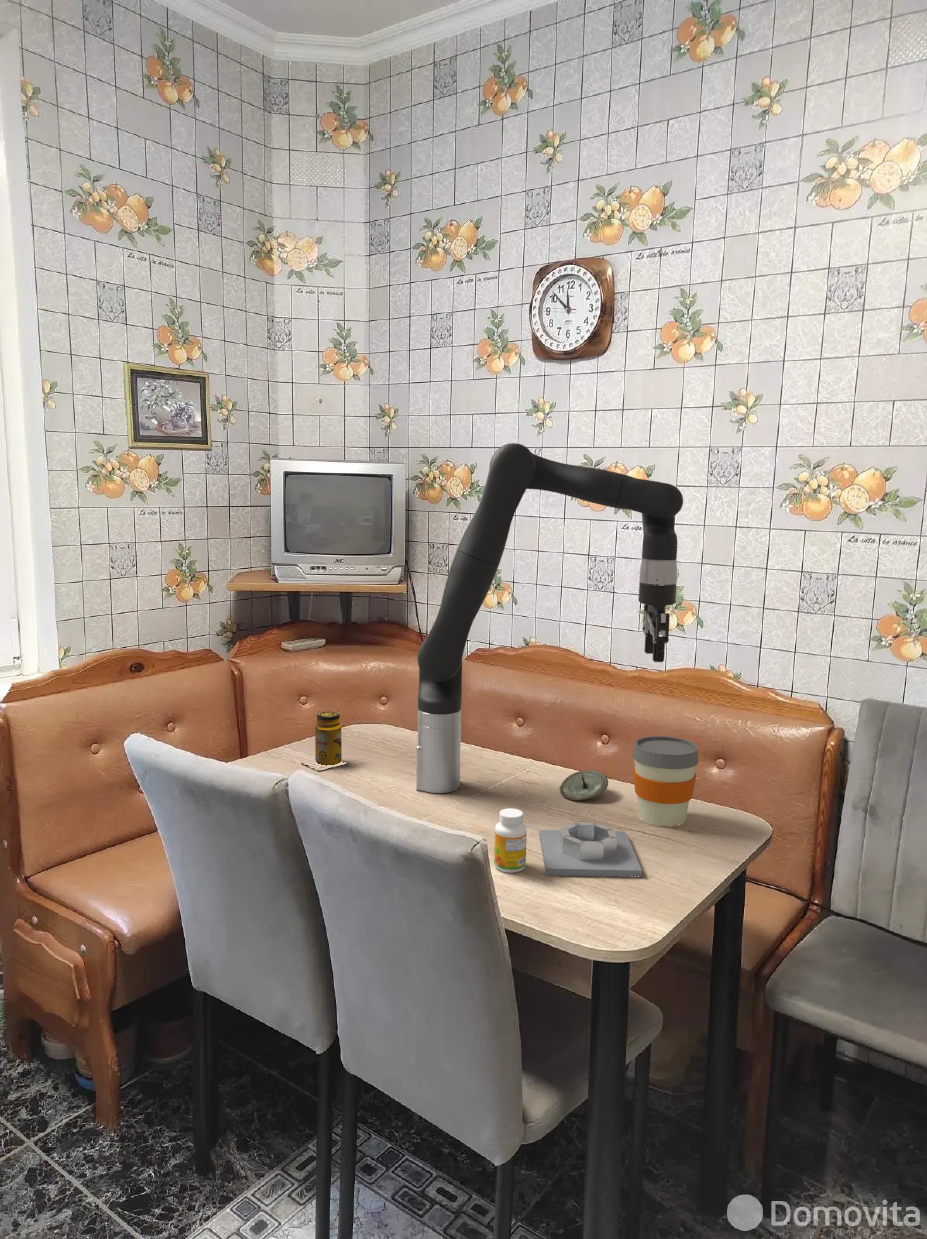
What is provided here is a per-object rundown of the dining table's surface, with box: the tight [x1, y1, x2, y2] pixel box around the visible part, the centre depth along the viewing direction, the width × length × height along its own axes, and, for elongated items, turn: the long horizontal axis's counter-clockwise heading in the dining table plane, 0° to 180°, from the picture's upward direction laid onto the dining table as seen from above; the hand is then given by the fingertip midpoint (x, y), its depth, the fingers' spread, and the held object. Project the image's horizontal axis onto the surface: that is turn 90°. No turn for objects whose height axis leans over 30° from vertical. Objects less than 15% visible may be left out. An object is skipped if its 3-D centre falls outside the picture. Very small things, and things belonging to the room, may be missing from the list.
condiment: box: [314, 710, 343, 766], centre depth 194 cm, size 7×8×12 cm
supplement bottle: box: [493, 808, 528, 874], centre depth 143 cm, size 5×5×10 cm
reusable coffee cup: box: [632, 735, 699, 827], centre depth 165 cm, size 13×13×15 cm
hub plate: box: [538, 829, 643, 878], centre depth 149 cm, size 16×16×1 cm
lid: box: [559, 770, 609, 802], centre depth 178 cm, size 11×10×5 cm
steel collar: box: [560, 821, 617, 861], centre depth 148 cm, size 10×10×3 cm
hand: (653, 657), depth 177 cm, fingers open, 8 cm apart
